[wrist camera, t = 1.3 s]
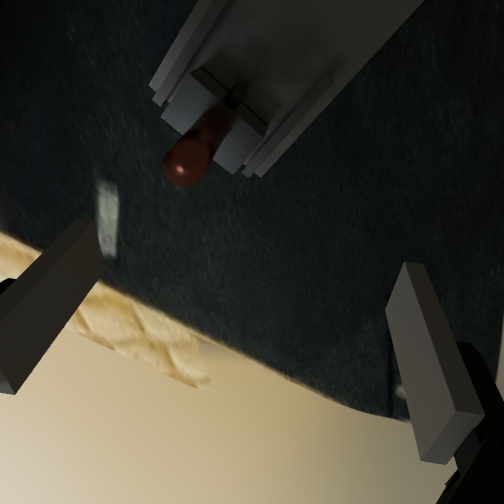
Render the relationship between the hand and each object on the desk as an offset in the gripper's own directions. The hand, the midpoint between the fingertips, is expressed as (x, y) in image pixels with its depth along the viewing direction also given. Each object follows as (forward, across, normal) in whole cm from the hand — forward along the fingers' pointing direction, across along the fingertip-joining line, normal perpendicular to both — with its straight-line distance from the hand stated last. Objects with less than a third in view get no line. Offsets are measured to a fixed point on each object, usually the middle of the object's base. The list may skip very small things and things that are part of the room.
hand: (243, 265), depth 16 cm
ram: (+18, -4, +1) cm, 19 cm away
